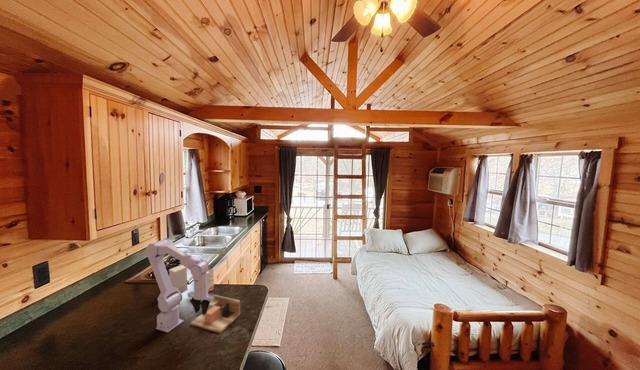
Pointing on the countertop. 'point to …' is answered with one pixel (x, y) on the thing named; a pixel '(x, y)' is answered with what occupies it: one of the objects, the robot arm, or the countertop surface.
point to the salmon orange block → (212, 314)
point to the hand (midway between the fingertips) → (201, 312)
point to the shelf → (221, 321)
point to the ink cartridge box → (210, 280)
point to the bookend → (226, 311)
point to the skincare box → (179, 277)
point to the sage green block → (214, 304)
